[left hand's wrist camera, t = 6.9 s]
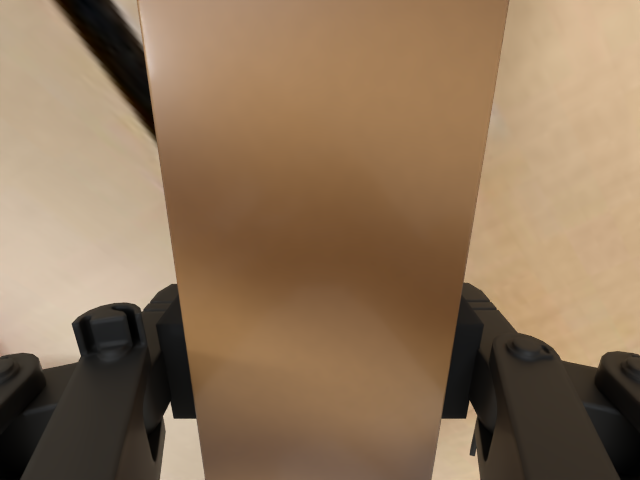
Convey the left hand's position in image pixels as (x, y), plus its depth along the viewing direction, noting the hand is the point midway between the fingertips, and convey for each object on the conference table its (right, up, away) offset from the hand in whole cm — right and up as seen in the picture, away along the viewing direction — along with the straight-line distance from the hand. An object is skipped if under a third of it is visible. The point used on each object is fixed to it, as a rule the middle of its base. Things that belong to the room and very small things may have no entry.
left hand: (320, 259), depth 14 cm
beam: (0, +31, -11) cm, 33 cm away
